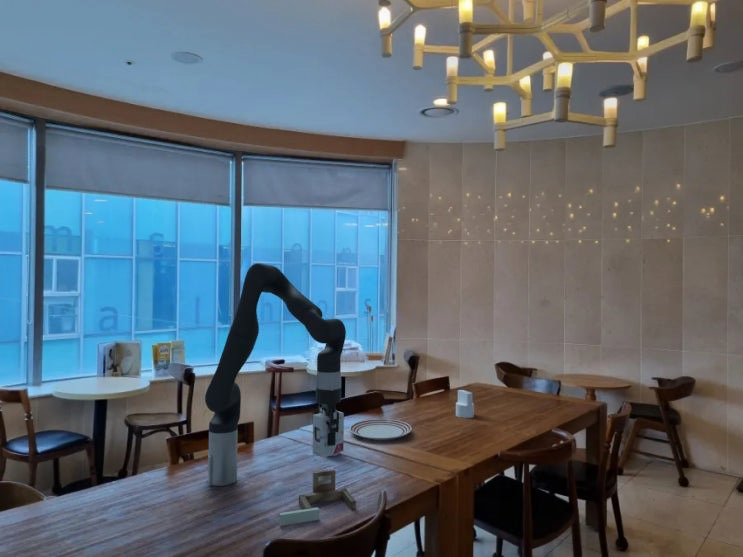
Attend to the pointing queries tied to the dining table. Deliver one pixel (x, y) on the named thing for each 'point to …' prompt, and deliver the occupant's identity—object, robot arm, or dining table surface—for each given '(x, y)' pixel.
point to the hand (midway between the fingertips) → (328, 441)
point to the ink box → (326, 435)
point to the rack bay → (325, 491)
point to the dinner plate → (380, 429)
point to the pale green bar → (299, 516)
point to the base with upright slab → (464, 404)
